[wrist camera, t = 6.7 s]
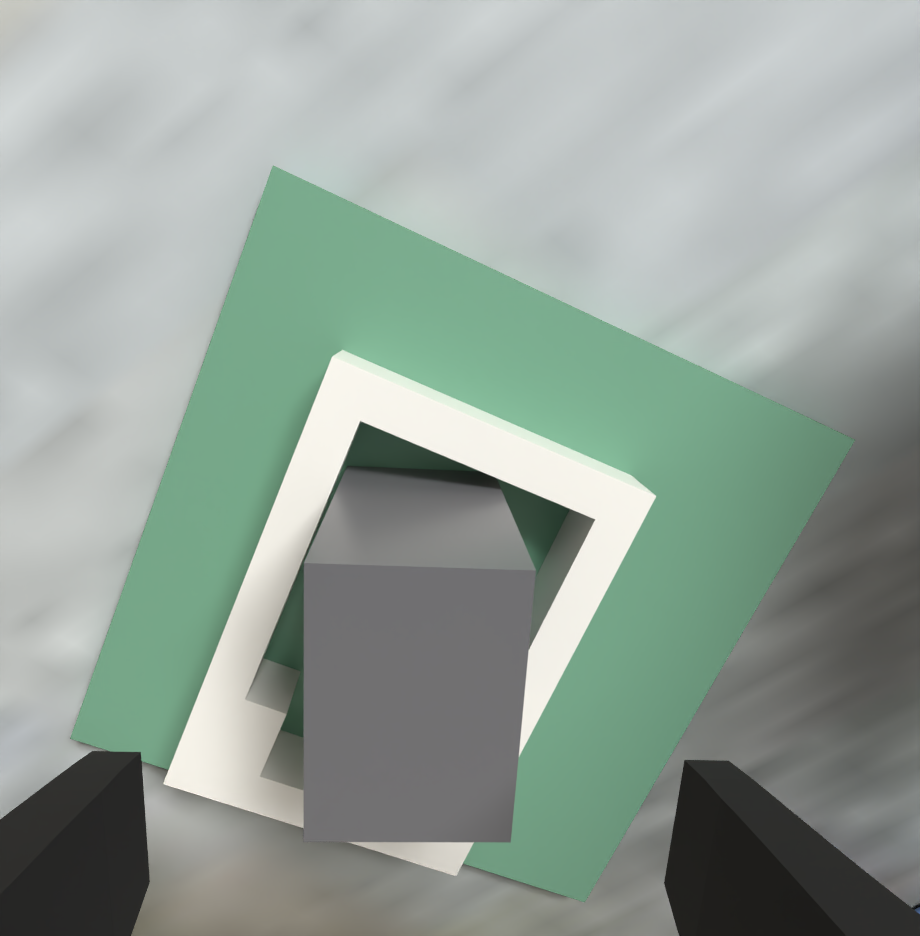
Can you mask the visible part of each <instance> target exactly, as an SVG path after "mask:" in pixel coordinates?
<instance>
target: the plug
mask: <svg viewBox="0 0 920 936" xmlns="http://www.w3.org/2000/svg"><path fill="white" fill-rule="evenodd" d="M535 576H536V569H535V567H534V565H533V562H532V560H531V558H530V555H529V553H528V551H527V548H526V546H525V544H524V541H523V539H522V537H521V534H520V532H519V530H518V527H517V525H516V523H515V520H514V518H513V516H512V513H511V511H510V509H509V506H508V504H507V502H506V499H505V497H504V495H503V492H502V490H501V488H500V485H499V483H498V481H497V478H495V477H493V476H490V475H488V474H486V473H483V472H481V471H458V470H435V469H411V468H388V467H364V466H347V468H346V470H345V472H344V474H343V477H342V479H341V481H340V483H339V486H338V488H337V490H336V492H335V494H334V497H333V499H332V501H331V503H330V506H329V508H328V510H327V512H326V515H325V517H324V519H323V521H322V524H321V526H320V528H319V530H318V532H317V535H316V537H315V539H314V541H313V544H312V546H311V548H310V550H309V553H308V555H307V557H306V559H305V562H304V826H303V842H505V843H511V834H512V824H513V813H514V802H515V791H516V780H517V770H518V759H519V748H520V737H521V727H522V716H523V705H524V694H525V684H526V673H527V662H528V651H529V640H530V630H531V619H532V608H533V597H534V587H535Z"/></svg>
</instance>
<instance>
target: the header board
mask: <svg viewBox="0 0 920 936" xmlns="http://www.w3.org/2000/svg"><path fill="white" fill-rule="evenodd" d="M854 441H855V439H852V438H850V437H848V436H846V435H844V434H842V433H840V432H838V431H835V430H833V429H831V428H829V427H827V426H825V425H823V424H821V423H818V422H816V421H814V420H812V419H810V418H808V417H806V416H804V415H801V414H799V413H797V412H795V411H793V410H791V409H789V408H787V407H784V406H782V405H780V404H778V403H776V402H774V401H772V400H770V399H767V398H765V397H763V396H761V395H759V394H757V393H755V392H753V391H751V390H748V389H746V388H744V387H742V386H740V385H738V384H736V383H734V382H731V381H729V380H727V379H725V378H723V377H721V376H719V375H717V374H714V373H712V372H710V371H708V370H706V369H704V368H702V367H700V366H697V365H695V364H693V363H691V362H689V361H687V360H685V359H683V358H680V357H678V356H676V355H674V354H672V353H670V352H668V351H666V350H664V349H661V348H659V347H657V346H655V345H653V344H651V343H649V342H647V341H644V340H642V339H640V338H638V337H636V336H634V335H632V334H630V333H627V332H625V331H623V330H621V329H619V328H617V327H615V326H613V325H610V324H608V323H606V322H604V321H602V320H600V319H598V318H596V317H593V316H591V315H589V314H587V313H585V312H583V311H581V310H579V309H577V308H574V307H572V306H570V305H568V304H566V303H564V302H562V301H560V300H557V299H555V298H553V297H551V296H549V295H547V294H545V293H543V292H540V291H538V290H536V289H534V288H532V287H530V286H528V285H526V284H523V283H521V282H519V281H517V280H515V279H513V278H511V277H509V276H506V275H504V274H502V273H500V272H498V271H496V270H494V269H492V268H489V267H487V266H485V265H483V264H481V263H479V262H477V261H475V260H473V259H470V258H468V257H466V256H464V255H462V254H460V253H458V252H456V251H453V250H451V249H449V248H447V247H445V246H443V245H441V244H439V243H436V242H434V241H432V240H430V239H428V238H426V237H424V236H422V235H419V234H417V233H415V232H413V231H411V230H409V229H407V228H405V227H402V226H400V225H398V224H396V223H394V222H392V221H390V220H388V219H386V218H383V217H381V216H379V215H377V214H375V213H373V212H371V211H369V210H366V209H364V208H362V207H360V206H358V205H356V204H354V203H352V202H349V201H347V200H345V199H343V198H341V197H339V196H337V195H335V194H332V193H330V192H328V191H326V190H324V189H322V188H320V187H318V186H315V185H313V184H311V183H309V182H307V181H305V180H303V179H301V178H298V177H296V176H294V175H292V174H290V173H288V172H286V171H284V170H282V169H279V168H277V167H275V166H273V167H272V170H271V172H270V175H269V178H268V181H267V184H266V187H265V189H264V192H263V195H262V198H261V201H260V204H259V206H258V209H257V212H256V215H255V218H254V220H253V223H252V226H251V229H250V232H249V235H248V237H247V240H246V243H245V246H244V249H243V252H242V254H241V257H240V260H239V263H238V266H237V269H236V271H235V274H234V277H233V280H232V283H231V285H230V288H229V291H228V294H227V297H226V300H225V302H224V305H223V308H222V311H221V314H220V317H219V319H218V322H217V325H216V328H215V331H214V334H213V336H212V339H211V342H210V345H209V348H208V351H207V353H206V356H205V359H204V362H203V365H202V367H201V370H200V373H199V376H198V379H197V382H196V384H195V387H194V390H193V393H192V396H191V399H190V401H189V404H188V407H187V410H186V413H185V416H184V418H183V421H182V424H181V427H180V430H179V432H178V435H177V438H176V441H175V444H174V447H173V449H172V452H171V455H170V458H169V461H168V464H167V466H166V469H165V472H164V475H163V478H162V481H161V483H160V486H159V489H158V492H157V495H156V498H155V500H154V503H153V506H152V509H151V512H150V514H149V517H148V520H147V523H146V526H145V529H144V531H143V534H142V537H141V540H140V543H139V546H138V548H137V551H136V554H135V557H134V560H133V563H132V565H131V568H130V571H129V574H128V577H127V579H126V582H125V585H124V588H123V591H122V594H121V596H120V599H119V602H118V605H117V608H116V611H115V613H114V616H113V619H112V622H111V625H110V628H109V630H108V633H107V636H106V639H105V642H104V645H103V647H102V650H101V653H100V656H99V659H98V661H97V664H96V667H95V670H94V673H93V676H92V678H91V681H90V684H89V687H88V690H87V693H86V695H85V698H84V701H83V704H82V707H81V710H80V712H79V715H78V718H77V721H76V724H75V727H74V729H73V732H72V735H71V738H70V739H73V740H76V741H79V742H83V743H86V744H89V745H92V746H95V747H98V748H101V749H105V750H108V751H111V752H141V761H142V762H145V763H149V764H152V765H155V766H158V767H161V768H164V769H167V770H168V773H167V775H166V778H165V780H164V783H163V784H164V785H168V786H171V787H174V788H177V789H180V790H184V791H187V792H190V793H193V794H196V795H199V796H203V797H206V798H209V799H212V800H215V801H219V802H222V803H225V804H228V805H231V806H234V807H238V808H241V809H244V810H247V811H250V812H253V813H257V814H260V815H263V816H266V817H269V818H273V819H276V820H279V821H282V822H285V823H288V824H292V825H295V826H298V827H301V828H303V826H304V562H305V559H306V557H307V555H308V553H309V550H310V548H311V546H312V544H313V541H314V539H315V537H316V535H317V532H318V530H319V528H320V526H321V524H322V521H323V519H324V517H325V515H326V512H327V510H328V508H329V506H330V503H331V501H332V499H333V497H334V494H335V492H336V490H337V488H338V486H339V483H340V481H341V479H342V477H343V474H344V472H345V470H346V468H347V466H364V467H388V468H411V469H435V470H458V471H481V472H483V473H486V474H488V475H490V476H493V477H495V478H497V481H498V483H499V485H500V488H501V490H502V492H503V495H504V497H505V499H506V502H507V504H508V506H509V509H510V511H511V513H512V516H513V518H514V520H515V523H516V525H517V527H518V530H519V532H520V534H521V537H522V539H523V541H524V544H525V546H526V548H527V551H528V553H529V555H530V558H531V560H532V562H533V565H534V567H535V569H536V576H535V587H534V597H533V608H532V619H531V630H530V640H529V651H528V662H527V673H526V684H525V694H524V705H523V716H522V727H521V737H520V748H519V759H518V770H517V780H516V791H515V802H514V813H513V824H512V834H511V843H505V842H349V843H352V844H355V845H358V846H362V847H365V848H368V849H371V850H374V851H377V852H381V853H384V854H387V855H390V856H393V857H397V858H400V859H403V860H406V861H409V862H412V863H416V864H419V865H422V866H425V867H428V868H432V869H435V870H438V871H441V872H444V873H447V874H451V875H454V876H456V875H457V873H458V872H459V870H460V868H461V866H462V864H466V865H469V866H472V867H475V868H478V869H482V870H485V871H488V872H491V873H494V874H497V875H500V876H504V877H507V878H510V879H513V880H516V881H519V882H522V883H526V884H529V885H532V886H535V887H538V888H541V889H544V890H548V891H551V892H554V893H557V894H560V895H563V896H566V897H570V898H573V899H576V900H579V901H582V902H585V901H586V899H587V898H588V896H589V894H590V893H591V891H592V889H593V887H594V886H595V884H596V882H597V881H598V879H599V877H600V875H601V874H602V872H603V870H604V869H605V867H606V865H607V863H608V862H609V860H610V858H611V857H612V855H613V853H614V852H615V850H616V848H617V846H618V845H619V843H620V841H621V840H622V838H623V836H624V834H625V833H626V831H627V829H628V828H629V826H630V824H631V822H632V821H633V819H634V817H635V816H636V814H637V812H638V810H639V809H640V807H641V805H642V804H643V802H644V800H645V798H646V797H647V795H648V793H649V792H650V790H651V788H652V787H653V785H654V783H655V781H656V780H657V778H658V776H659V775H660V773H661V771H662V769H663V768H664V766H665V764H666V763H667V761H668V759H669V757H670V756H671V754H672V752H673V751H674V749H675V747H676V745H677V744H678V742H679V740H680V739H681V737H682V735H683V734H684V732H685V730H686V728H687V727H688V725H689V723H690V722H691V720H692V718H693V716H694V715H695V713H696V711H697V710H698V708H699V706H700V704H701V703H702V701H703V699H704V698H705V696H706V694H707V692H708V691H709V689H710V687H711V686H712V684H713V682H714V680H715V679H716V677H717V675H718V674H719V672H720V670H721V669H722V667H723V665H724V663H725V662H726V660H727V658H728V657H729V655H730V653H731V651H732V650H733V648H734V646H735V645H736V643H737V641H738V639H739V638H740V636H741V634H742V633H743V631H744V629H745V627H746V626H747V624H748V622H749V621H750V619H751V617H752V616H753V614H754V612H755V610H756V609H757V607H758V605H759V604H760V602H761V600H762V598H763V597H764V595H765V593H766V592H767V590H768V588H769V586H770V585H771V583H772V581H773V580H774V578H775V576H776V574H777V573H778V571H779V569H780V568H781V566H782V564H783V562H784V561H785V559H786V557H787V556H788V554H789V552H790V551H791V549H792V547H793V545H794V544H795V542H796V540H797V539H798V537H799V535H800V533H801V532H802V530H803V528H804V527H805V525H806V523H807V521H808V520H809V518H810V516H811V515H812V513H813V511H814V509H815V508H816V506H817V504H818V503H819V501H820V499H821V498H822V496H823V494H824V492H825V491H826V489H827V487H828V486H829V484H830V482H831V480H832V479H833V477H834V475H835V474H836V472H837V470H838V468H839V467H840V465H841V463H842V462H843V460H844V458H845V456H846V455H847V453H848V451H849V450H850V448H851V446H852V444H853V443H854Z"/></svg>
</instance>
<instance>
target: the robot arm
mask: <svg viewBox="0 0 920 936" xmlns="http://www.w3.org/2000/svg"><path fill="white" fill-rule="evenodd" d="M149 882H150V880H149V865H148V850H147V836H146V821H145V806H144V791H143V776H142V761H141V752H110V751H92V752H90V753H89V754H88V755H86V756H85V757H83V758H82V759H80V760H79V761H78V762H76V763H75V764H73V765H72V766H71V767H69V768H68V769H67V770H65V771H64V772H63V773H61V774H60V775H59V776H57V777H56V778H55V779H53V780H52V781H51V782H49V783H48V784H47V785H45V786H44V787H43V788H41V789H40V790H39V791H37V792H36V793H35V794H33V795H32V796H31V797H29V798H28V799H27V800H25V801H24V802H23V803H21V804H20V805H19V806H18V807H16V808H15V809H14V810H12V811H11V812H10V813H8V814H7V815H6V816H4V817H3V818H2V819H0V936H131V934H132V931H133V928H134V925H135V923H136V920H137V917H138V914H139V911H140V908H141V905H142V902H143V900H144V897H145V894H146V891H147V888H148V885H149ZM664 884H665V888H666V891H667V895H668V898H669V902H670V905H671V909H672V912H673V916H674V919H675V923H676V926H677V930H678V933H679V936H920V914H919V913H917V912H916V911H915V910H914V909H912V908H911V907H910V906H908V905H907V904H906V903H905V902H903V901H902V900H901V899H899V898H898V897H897V896H895V895H894V894H893V893H892V892H890V891H889V890H888V889H887V888H885V887H884V886H883V885H882V884H880V883H879V882H878V881H876V880H875V879H874V878H873V877H871V876H870V875H869V874H868V873H866V872H865V871H864V870H863V869H861V868H860V867H859V866H858V865H856V864H855V863H854V862H853V861H852V860H850V859H849V858H848V857H847V856H845V855H844V854H843V853H842V852H840V851H839V850H838V849H837V848H836V847H834V846H833V845H832V844H831V843H829V842H828V841H827V840H826V839H824V838H823V837H822V836H821V835H820V834H818V833H817V832H816V831H815V830H814V829H812V828H811V827H810V826H809V825H808V824H806V823H805V822H804V821H803V820H801V819H800V818H799V817H798V816H797V815H795V814H794V813H793V812H792V811H791V810H789V809H788V808H787V807H786V806H784V805H783V804H782V803H781V802H780V801H778V800H777V799H776V798H775V797H774V796H772V795H771V794H770V793H769V792H767V791H766V790H765V789H764V788H763V787H761V786H760V785H759V784H758V783H756V782H755V781H754V780H753V779H751V778H750V777H749V776H748V775H746V774H745V773H744V772H742V771H741V770H740V769H738V768H737V767H736V766H734V765H733V764H732V763H730V762H729V761H708V760H685V761H684V767H683V773H682V779H681V785H680V791H679V797H678V803H677V809H676V815H675V821H674V827H673V833H672V839H671V845H670V851H669V857H668V863H667V869H666V876H665V882H664Z"/></svg>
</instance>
